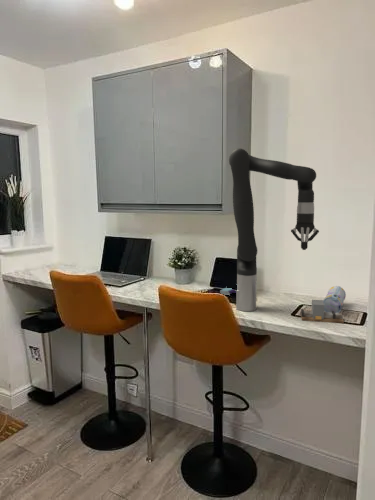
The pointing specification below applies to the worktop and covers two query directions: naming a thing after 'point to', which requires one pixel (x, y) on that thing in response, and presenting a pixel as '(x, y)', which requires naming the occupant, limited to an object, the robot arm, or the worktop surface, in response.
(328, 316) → the rail board
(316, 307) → the din module
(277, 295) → the worktop surface
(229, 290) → the pistol
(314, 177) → the robot arm
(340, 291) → the pencil case
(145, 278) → the worktop surface
